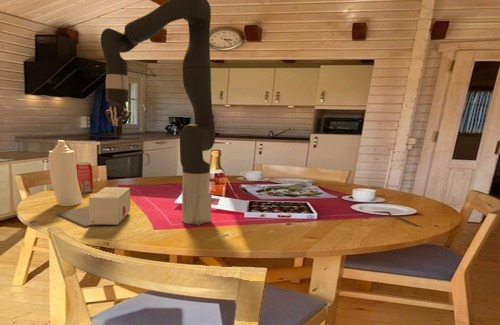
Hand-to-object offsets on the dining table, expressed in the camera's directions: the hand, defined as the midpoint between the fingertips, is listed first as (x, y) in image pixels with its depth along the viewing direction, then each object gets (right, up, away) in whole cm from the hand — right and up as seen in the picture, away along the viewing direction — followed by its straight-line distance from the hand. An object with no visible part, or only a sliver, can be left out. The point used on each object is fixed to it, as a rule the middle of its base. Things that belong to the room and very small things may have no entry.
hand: (118, 136), depth 118 cm
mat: (-7, -28, -6) cm, 30 cm away
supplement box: (+1, -23, -2) cm, 23 cm away
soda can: (-27, -23, +27) cm, 44 cm away
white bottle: (-23, -26, +7) cm, 35 cm away
